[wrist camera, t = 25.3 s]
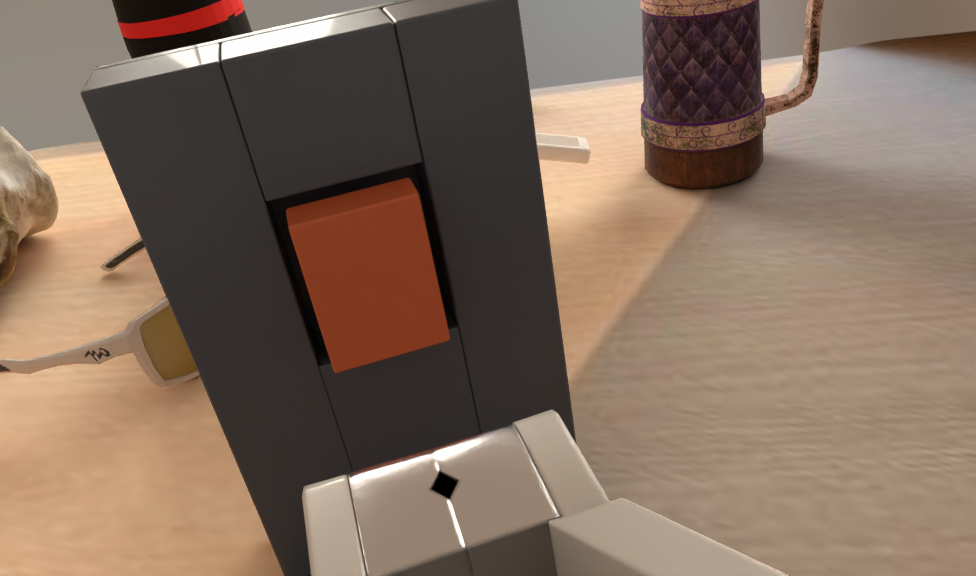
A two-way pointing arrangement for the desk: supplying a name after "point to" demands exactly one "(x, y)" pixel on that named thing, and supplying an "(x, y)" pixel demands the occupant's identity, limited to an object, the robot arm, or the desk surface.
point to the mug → (711, 89)
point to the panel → (327, 173)
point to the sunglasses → (128, 342)
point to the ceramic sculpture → (21, 201)
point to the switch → (369, 273)
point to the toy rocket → (177, 23)
